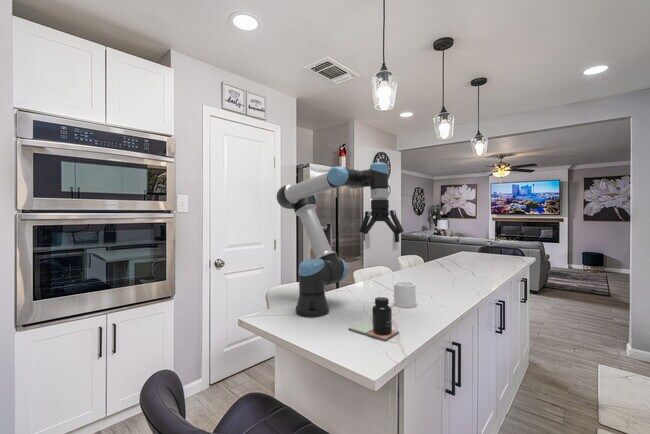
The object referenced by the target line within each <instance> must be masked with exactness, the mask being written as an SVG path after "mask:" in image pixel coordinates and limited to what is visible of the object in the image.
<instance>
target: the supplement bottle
mask: <svg viewBox="0 0 650 434" xmlns="http://www.w3.org/2000/svg"><path fill="white" fill-rule="evenodd" d="M374 304H375V305H373V307H372V309H371V310H372V314H371V315H372V324H373V332H374V333H376V334H378V335H388V334H391V332H392V330H393V326H392V325H393V323H392V320H393V319H392V316H393V315H392V313H393V312H392V307H391V306H390V305H389V304H390V303H389V298H387V297H384V296H380V297H379V296H377V297H375V298H374Z"/></svg>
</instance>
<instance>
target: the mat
mask: <svg viewBox="0 0 650 434" xmlns="http://www.w3.org/2000/svg"><path fill="white" fill-rule="evenodd" d="M347 330H348V331H350V332H352V333H356V334H360V335H363V336H366V337H370V338H372V339H376V340H379V341H383V342H388V341H389V340H390V339H392V338H394V337H395V336H397V335H399V334H400V332H399V330H398V331H397V330H395V329H392V332H391V334H388V335H378V334H376V333H374V332H373V323H372V324H371V323H368V322H364V321H362V322H359V323H357V324H355V325H353V326H351V327H349V328H348V329H347Z"/></svg>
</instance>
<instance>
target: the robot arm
mask: <svg viewBox="0 0 650 434" xmlns="http://www.w3.org/2000/svg"><path fill="white" fill-rule="evenodd" d="M341 187H348V188H349V189H361V188H370V199H371V200H370V208H371V211H369V210H368V211H365V212H364V217H363V220H362V223H361V225H360V228H359V230H358V231H359V232H360V233H362V235H363V239H362V240H363V241H364V249H365V250H368V249H370V248H371V240H370V239H371V238H370V236H371V234H370V233H369V232H370V230H371V229H372V228H373V226H374V225H375V223H376V222H384V223H385V224H386V226H388V227H389V229H390V230H391V231H392V233H393V234H392V235H391V236H392V237H391V238H392V251H398V243H399V242H400V234H401V233H404V229H403V227H402V225H401V223H400V220H399V219H398V215H397V211H396V210H394V209H391V210H389V209H390V208H389V207H390V205H389V204H390V202H389V201H390V200H389V198H390V197H389V195H390V194H389V168H388V164H387V163H386V162H381V161H379V162H372V163H371V164H370V165H369V168H368V169H363V170H358V169H353V168H348V167H343V166H333V167H331V168H330V169H329V170H328V172H326V173H322V174H320V175H317V176H314V177H311V178H308V179H306V180H302V181H300V182H298V183H295V184H293V183H289V184H285V185H284V186H281V187H280V188H279V189H278V190H277V193H276V200H277V203H278V205H280V206H281V207H282V208H283V209H286V210H293V211H294V214H295V215H296V216H297V217H299V219H300V221H301V223H302V225H303V228H304V230H305V234H306V236H307V238H308V241H309V243H310V245H311V248H312V251H313V253H314V256H315V258H311V259H305V260H303V261H301V262H300V263H299V265H298V272H297V273H298V291H299V295H298V299H297V305H296V307H295V314H296V315H297V316H299V315H300V317H302V318H303V317H304V318H317V317H323V316H326V315H328V314H329V313H330V306H329V304H328V301H327V297H326V291H325V289H326V286H330V285H333V284H338V283H340V282H342V281H343V280H344V279H346V277H347V273H348V266H347V263H346V262H345V260H344V259H342V258H340V257H339V256H338V253H337V252H336V251H333V249H332V248H331V245H330V243H329V241H328V237H327V236H326V234H325V231H324V228H323V227H322V224H321V222H320V219H319V217H318V215H317V213H316V208H317V206H316V205H317V199H318V197H317V195H318V194H322V193H325V192H327V191H330V190H334V189H337V188H341ZM389 216H390V217H389Z"/></svg>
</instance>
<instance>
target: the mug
mask: <svg viewBox="0 0 650 434" xmlns="http://www.w3.org/2000/svg"><path fill="white" fill-rule="evenodd" d="M416 297H417V296H416V283H415V282H411V281H395V282H394V283H393V301H394V303H393V304H394V307H397V308H399V309H400V308H401V309H414V308H415V307H416V304H417V302H416Z"/></svg>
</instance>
